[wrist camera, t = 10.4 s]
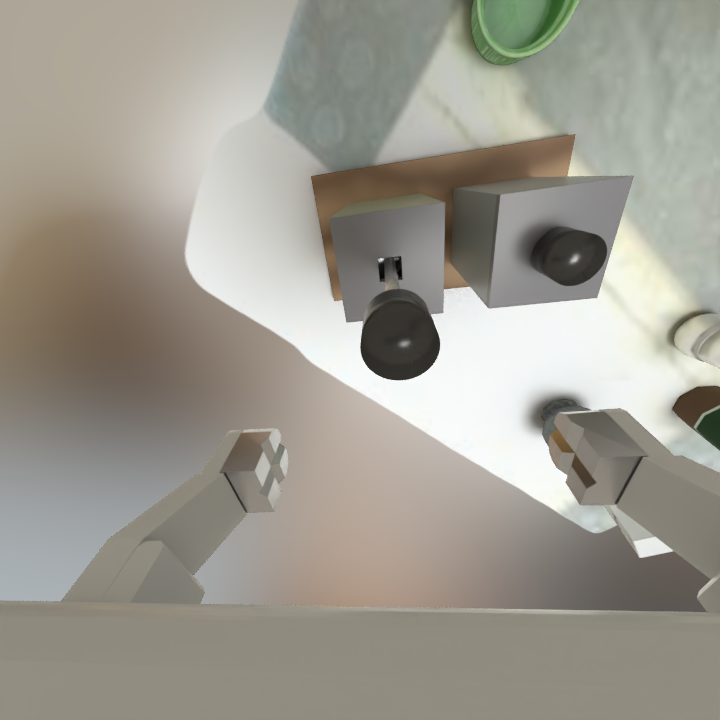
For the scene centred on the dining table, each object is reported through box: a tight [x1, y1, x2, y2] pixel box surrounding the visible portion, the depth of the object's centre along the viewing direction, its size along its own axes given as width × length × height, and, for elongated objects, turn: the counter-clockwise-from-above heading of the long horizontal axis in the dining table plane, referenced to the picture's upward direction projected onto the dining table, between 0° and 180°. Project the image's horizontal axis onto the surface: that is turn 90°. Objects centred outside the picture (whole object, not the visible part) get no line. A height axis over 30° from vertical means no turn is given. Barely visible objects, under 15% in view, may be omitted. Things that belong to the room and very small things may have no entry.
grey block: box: [451, 176, 634, 308], centre depth 30 cm, size 9×9×16 cm
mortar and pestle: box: [541, 399, 591, 446], centre depth 49 cm, size 11×9×12 cm
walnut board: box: [311, 134, 576, 301], centre depth 39 cm, size 16×30×2 cm, turn 98°
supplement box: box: [604, 505, 673, 558], centre depth 59 cm, size 7×7×13 cm
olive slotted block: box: [329, 193, 445, 322], centre depth 32 cm, size 9×9×16 cm
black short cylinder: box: [532, 227, 607, 286], centre depth 29 cm, size 7×7×19 cm
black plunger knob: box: [360, 256, 440, 380], centre depth 21 cm, size 7×7×19 cm
